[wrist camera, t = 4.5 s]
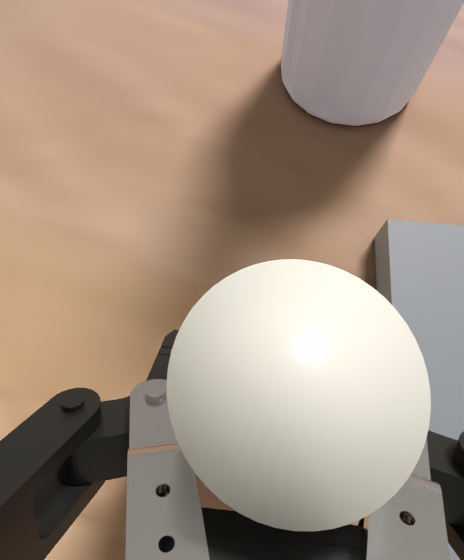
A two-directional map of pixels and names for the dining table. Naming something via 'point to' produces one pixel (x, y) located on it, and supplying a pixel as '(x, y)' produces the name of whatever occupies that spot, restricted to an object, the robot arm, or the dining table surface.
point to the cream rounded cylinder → (298, 395)
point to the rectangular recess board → (429, 308)
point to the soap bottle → (360, 54)
